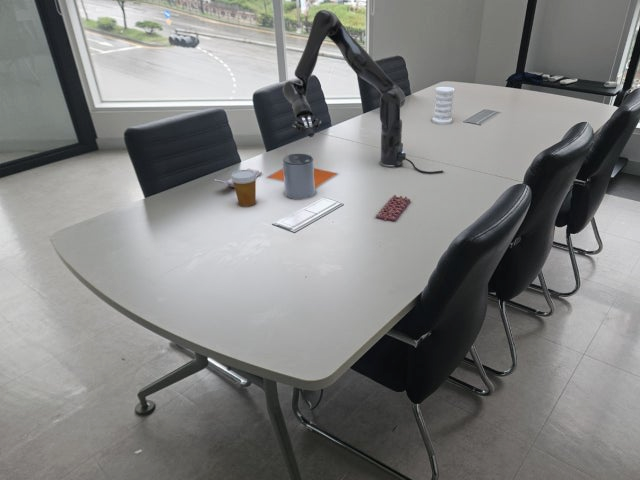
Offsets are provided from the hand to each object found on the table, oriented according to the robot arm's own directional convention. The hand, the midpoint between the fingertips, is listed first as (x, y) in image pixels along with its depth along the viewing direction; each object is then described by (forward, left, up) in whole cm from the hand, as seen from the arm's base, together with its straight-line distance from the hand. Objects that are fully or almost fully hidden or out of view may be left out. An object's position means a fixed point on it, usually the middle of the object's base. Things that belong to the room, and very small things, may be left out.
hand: (311, 135), depth 207 cm
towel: (+7, -1, -19) cm, 20 cm away
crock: (-3, +15, -19) cm, 24 cm away
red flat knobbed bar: (-43, +11, -19) cm, 48 cm away
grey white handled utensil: (+25, +19, -19) cm, 36 cm away
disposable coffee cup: (+10, +33, -19) cm, 39 cm away
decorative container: (-16, -110, -19) cm, 113 cm away
